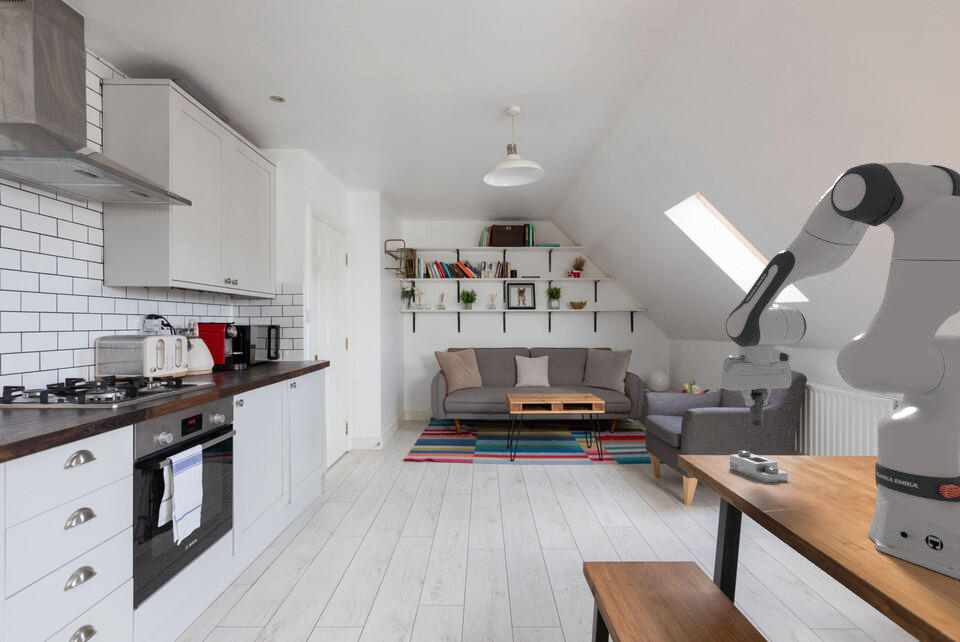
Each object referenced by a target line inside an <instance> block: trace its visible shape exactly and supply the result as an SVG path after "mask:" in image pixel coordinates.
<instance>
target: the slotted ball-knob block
mask: <svg viewBox="0 0 960 642" xmlns="http://www.w3.org/2000/svg"><path fill="white" fill-rule="evenodd" d="M729 469H730V470H731V471H734V472H737V473H740V474H741V475H742V474H743V475H744V476H748V477H750V478H752V479H755V480H758V481H760V482H763V483H765V484H767V483H777V482H783V481H784V482H786V481H788V472H786V471H783V470H780V469H779V468H778V461H775V460H773V459H769V458H766V457H763V456H761V455H758V454H754V453H751V451H749V450H738V451H737V454H735V453H734V454H729Z"/></svg>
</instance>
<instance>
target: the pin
mask: <svg viewBox="0 0 960 642" xmlns="http://www.w3.org/2000/svg"><path fill="white" fill-rule="evenodd" d="M762 393H765V389H756V390H752V391H751V394H750V396H751V398H752V400H755V402H754V404H755V405H754V406H749V425H752V426H760V427H761V426H763V420H764V415H763V414H764V413H763V412H764V411H763V394H762Z"/></svg>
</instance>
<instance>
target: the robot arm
mask: <svg viewBox="0 0 960 642" xmlns="http://www.w3.org/2000/svg"><path fill="white" fill-rule="evenodd" d="M882 224H885V225H886V226H887V227H888V228H890V230H891V232H892V234H893V244H892V245H893V246H892V250H891V251H892V252H891V257H890V258H891V259H890V264H889V269H888V270H889V271H888V275H887V281H886V286H885V292H884V296H883V298H882V302H881V304H880V306H879V308H878V310H877V312H876V314H875V315H874V316H873V317H872V319H871V320H870V322H869V323H868V324H867V326H866V327H865V328H864V329H862V331H861V332H860V333H858V334H857V335H856V336H854V337H853V338H851V339H849V340H848V341H846V342H845V343H844V344H843V345H842V346H841V347H840V349H839V351H838V354H837V357H836V366H837V371H838V373H839V375H840V377H841V379H842V380H843V381H844V382H845V383H846V384H847V385H848V386H849V387H851V388H853V389H857V390H861V391H864V392H870V393H876V394H881V395H883V394H886V395H887V394H888V395H889V394H890V395H891V394H893V395H894V394H895V395H896V394H898V395H899V394H901V395H903V396H902V398H901V401H900V403H899V404H898V405H897V407H896V408H895V409H894V410H893V411H891V412H890V413H888V414H887V415H885V416H884V417H882V418H881V419H880V420H879V423H878V425H877V461H876V462H875V465H874V477H875V478H874V479H875V484H876V485H875V486H876V488H877V492H876V493H877V494H876V500H875V501H876V502H875V508H874V513H873V517H872V521H871V523H870V527H869V529H868V531H867V534H868V537H869V538H870V539H871V540H872V541H873V543H875V545H874V547H875V549H876V550H878V551H879V552H883V553H885V554H888V555H891V556H892V557H896V558H899V559H902V560H903V561H907V562H910V563H912V564H915V565H918V566H920V567H923V568H926V569H929V570H932V571H935V572H937V573H940V574H943V575H946V576H949V577H952V578H954V579H957V580H960V335H956V334H937V332H938V331H939V329H940V328H941V326H942V325H943V324H944V323H945V322H946V321H947V320H948V319H949V318H951V317H952V316H954V315H956V314H958V313H959V312H960V173H959V172H957V171H956V170H954V169H953V168H952V169H951V168H949V167H946V166H944V165H943V166H942V165H938V164H937V165H936V164H932V165H926V164H919V163H918V164H917V163H910V162H905V161H904V162H883V163H877V162H869V163H864V164H860V165H856V166H853V167H850V168H848V169H846V170H845V171H844V172H842V173H841V174H840V175H839V176H838V177H837V179H836V180H835V181H834V183H833V185H832V186H831V187H830V188H829V189H827V191H826V192H825V193H824V194H823V195H822V197H821V198H820V199H819V201H818V202H817V203H816V204H815V206H814V207H813V209H812V210H811V212H810V213H809V215H808V218H806V221H805V222H804V225H803V226H802V228H801V230H800V231H799V233H798V234H797V236H796V237H795V238H794V239H793V240H792V241H791V243H790V244H789V245H788V246H787V247H785V248H784V249H783V250H782V251H780V252H779V253H777V254H776V255H774V256H773V257H772V258H771V260H770V261H769V262H768V263H767V265H766V266H765V267H764V268H763V271H761V273H760V274H759V276H758V278H757V279H756V281H755V282H754V283H753V285H752V286H751V288H750V289H749V291H748V292H747V294H746V295H745V297H743V299H742V300H741V301H740V302H739V304H738V305H737V306H736V307H735V308H734V309H733V310H732V311H731V313H730V314H729V315H728V317H727V318H726V323H725V331H726V334H727V336H728V337H729V339H730V340H732V341H733V342H734V344H736V345H737V355H729V356H728V357H727V358H725V360H724V361H723V366H722V367H723V368H722V372H721V387H722V389H723V390H727V391H740V394H741V395H742V397H743V399H744V404H745V406H746V407H750V406H754V405H755V404H754V402H755V400H752V398H751V396H750V394H751V391H752V390H756V389H765V393H762V394H763V406H768V405H769V403H768V402H769V398H770V396H771V395H772V390H774V389H775V390H777V389H789V388H790V386H791V385H792V367H791V363H789V362H791V359H792V358H791V357H792V355H791V354H790V353H787V352H785V351H781V350H779V349H776V346H777V345H778V346H780V345H784V346H785V345H792V344H793V345H794V344H796V343H799V342H800V341H801V340H802V339H803V338H804V336H805V335H806V331H807V320H806V318H805V316H804V314H803V313H802V312H801V311H800V310H798V309H797V308H794V307H793V308H792V307H788V306H786V305H782V304H780V303H778V302H777V301H776V299H777V298H778V297H779V296H780V294H781V293H782V292H783V291H784V290H785V289H786V288H787V287H788V286H790V285H792V284H794V283H796V282H799V281H801V280H804V279H808V278H810V277H811V278H812V277H815V276H818V275H821V274H822V275H823V274H826V273H830V272H832V271H835V270H838V269H839V268H840V267H842V266H843V265H845V263H846V262H847V261H849V259H850V258H851V257H852V256H853V254H854V253H855V251H856V249H857V248H858V246H859V244H860V243H861V241H862V240H863V237H864V236H865V235H866V232H867V231H868V229H869V228H870V226H871V227H878V226H880V225H882Z"/></svg>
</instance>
